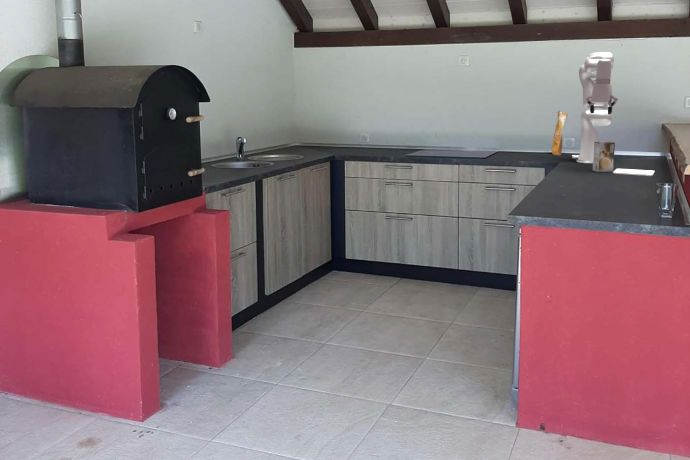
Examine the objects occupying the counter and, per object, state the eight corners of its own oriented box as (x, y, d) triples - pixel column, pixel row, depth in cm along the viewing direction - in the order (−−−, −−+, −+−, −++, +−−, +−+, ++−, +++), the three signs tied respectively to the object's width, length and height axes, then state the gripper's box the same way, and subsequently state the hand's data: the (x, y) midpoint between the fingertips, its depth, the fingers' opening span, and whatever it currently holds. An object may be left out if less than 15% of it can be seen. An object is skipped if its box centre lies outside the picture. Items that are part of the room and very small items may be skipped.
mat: (612, 173, 395) (613, 172, 395) (616, 170, 409) (617, 168, 409) (651, 176, 386) (651, 174, 386) (654, 172, 400) (654, 170, 400)
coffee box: (607, 170, 409) (609, 141, 405) (613, 171, 402) (615, 142, 399) (592, 170, 407) (594, 141, 403) (598, 172, 401) (600, 142, 397)
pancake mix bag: (560, 152, 493) (562, 110, 487) (565, 155, 474) (568, 112, 468) (549, 152, 493) (552, 110, 487) (554, 155, 475) (557, 112, 469)
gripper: (584, 82, 403) (582, 113, 407) (615, 82, 392) (613, 114, 395) (590, 82, 409) (588, 113, 412) (621, 82, 397) (618, 114, 401)
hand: (600, 113), depth 404 cm, fingers open, 9 cm apart
